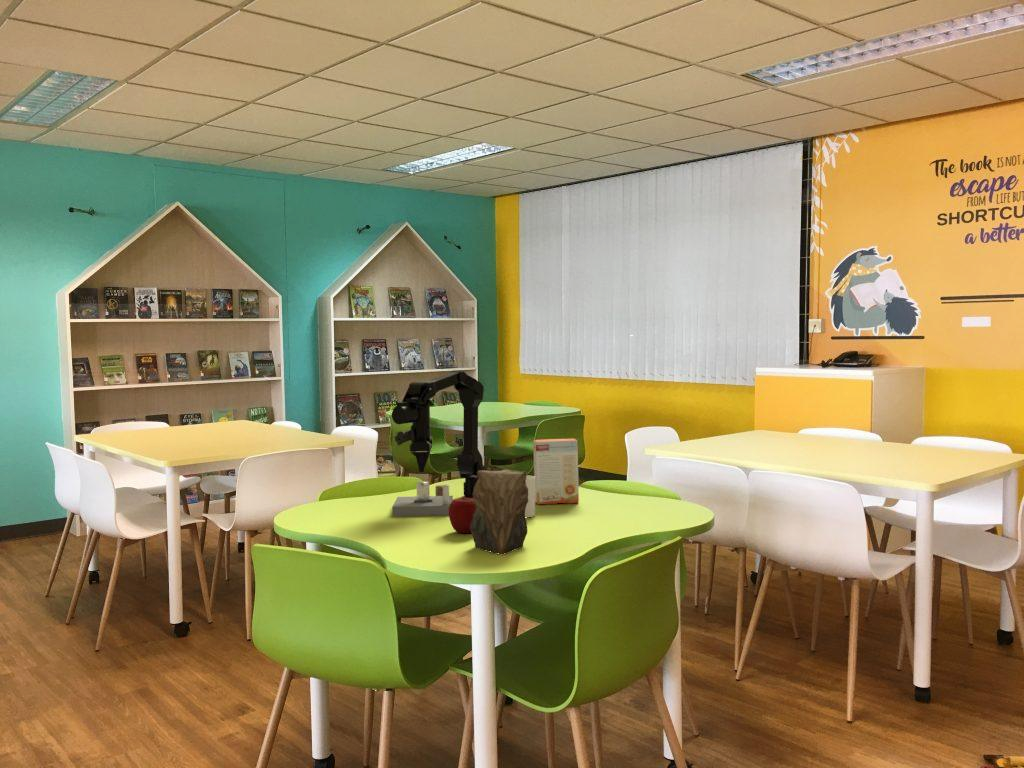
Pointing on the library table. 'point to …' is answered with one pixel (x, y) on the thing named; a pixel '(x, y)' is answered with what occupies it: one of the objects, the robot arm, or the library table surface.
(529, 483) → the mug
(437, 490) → the short pin
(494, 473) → the owl
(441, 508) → the grey peg base
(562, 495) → the cracker box
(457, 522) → the apple
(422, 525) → the library table surface
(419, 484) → the long pin
